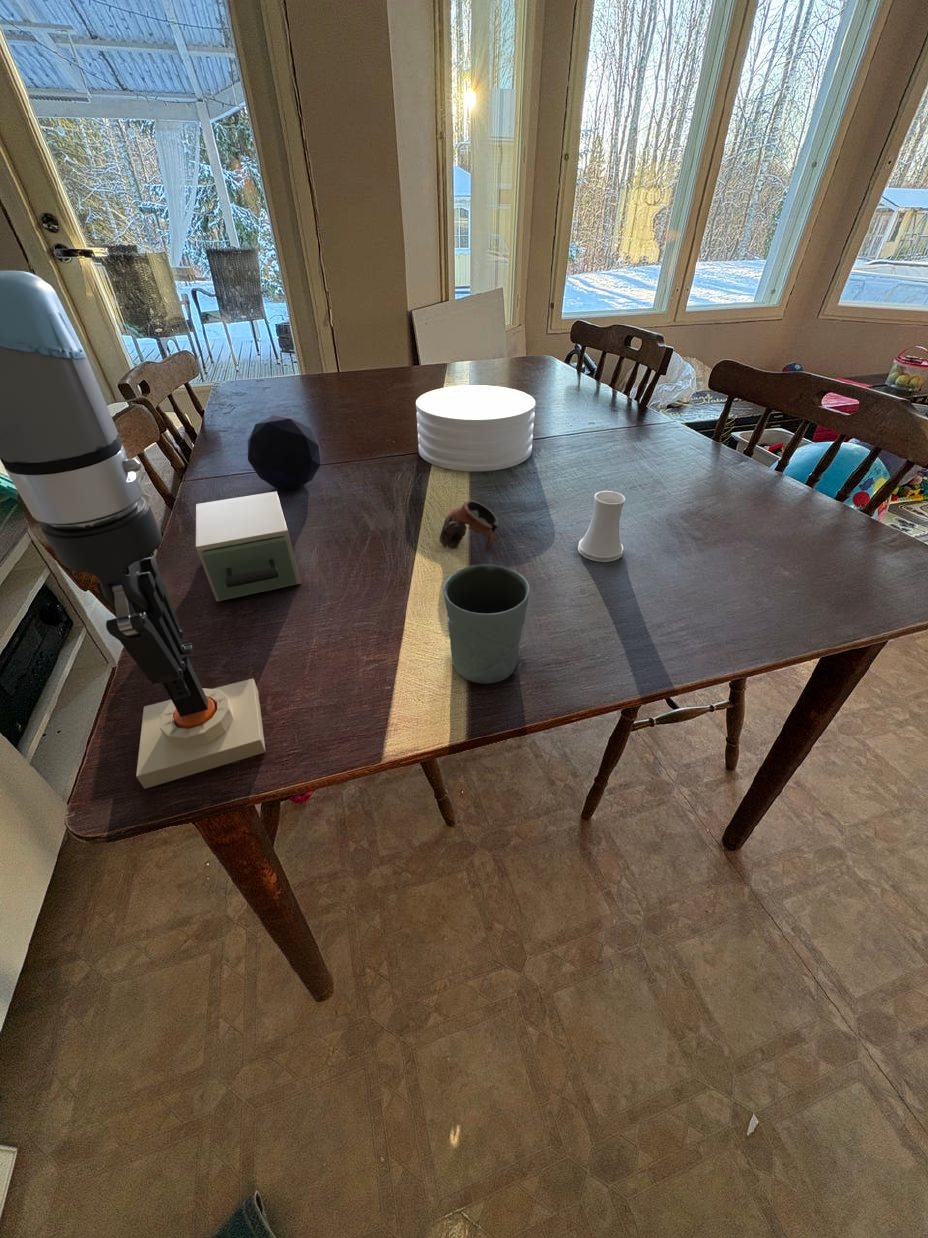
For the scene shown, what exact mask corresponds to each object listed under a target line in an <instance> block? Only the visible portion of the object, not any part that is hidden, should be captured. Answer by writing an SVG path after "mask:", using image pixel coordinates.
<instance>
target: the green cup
mask: <svg viewBox="0 0 928 1238" xmlns="http://www.w3.org/2000/svg"><path fill="white" fill-rule="evenodd" d="M442 593H443V600H444V605H445V610H446V616H447V618H448V621H447V631H448V637H449V640H450V641H449V643H450V644H449V645H450V654H451V662H452V666H453V668H454V669H455V671H456V673H457V674H458V675H459V676H461V677H462V678H464V679H465V680H467V681H470V682H472V683H477V684H487V685H489V684H494V683H495V684H496V683H498V682H501V681H503V680H506V679H507V678H509V677H510V676H511V675H512V674H513V673H514V672H515V669H516V667H517V664H518V659H519V654H520V643H521V638H522V637H521V636H522V631H523V627H524V623H525V618H526V612H527V608H528V604H529V598H530V594H531V587H530V584H529V582H528V580H527V579H526V578H525V576H523V575H522V574H521V573H520V572H518V571H516V570H515V569H513V568H510V567H507V566H504V565H499V564H494V563H493V564H490V563H479V564H473V565H468V566H465V567H461V568H460V569H458V570H456V571H455V572H453V573H452V574H451V575H450V576H449V577H448V578H447V579H446V580H445V582H444V584H443V590H442Z"/></svg>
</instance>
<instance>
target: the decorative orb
mask: <svg viewBox="0 0 928 1238" xmlns="http://www.w3.org/2000/svg"><path fill="white" fill-rule="evenodd" d="M247 462H248V463H249V464H250V466H251V467H252V469H253V470H254V472H255V473H256V475H257V476H258V477H259V479H261V481H264V482H265V483H267V484H269V485H270V486H271V487H273V488H274V489H285V490H286V489H287V490H297V489H298V488H300V487H303V486H305V485H306V484H308V483H309V482H311V481H312V480H313V479H314V478H315V476H316V474H317V473H318V472H319V469H320V467H321V465H322V464H321V446H320V444H319V442H318V440H317V438H316V436H315V434H314V432H313V430H312V428H311V427H310V426H308V425H307V424H305V423H303V422H302V421H300V420H299V419H297V418H296V417H292V416H285V415H276V414H272V415H271V416H269V417H267V418H264V419H263V420H261V421H259V422H257V423H255V424H254V426H253V428H252V430H251V433H250V435H249V437H248V439H247Z"/></svg>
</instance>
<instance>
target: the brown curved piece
mask: <svg viewBox="0 0 928 1238" xmlns="http://www.w3.org/2000/svg"><path fill="white" fill-rule="evenodd" d="M474 511H477V513H478V518H479V519H478V518H477V517H476V516H474V515H473V513H472V512H474ZM481 519H483V520H484V521H485V522H486V523H485V522H483V521H482V520H481ZM499 525H500V523H499V520H498V518H497V516H496V515H495V513H493V511H491V510H490V509H489V508H488V507H486V506H485V505H484V504H482V503H480V502H478V501H475V500H465V501H464V502H463V504H462V505H460V506H459V505H458V506H456V507H455V508H452V509H451V511H450V512H448V513H447V515H446V517H445V520H444V522H443V524H442V527H441V531H440V535H439V543H440V544H441V546H442V548H446V547H448V548H449V549H452V550H457V549H458V547H459V545H460V543H461V541H462V539H463V538H464V537H465V535H466V532H467V527H468V529H469V530H471V531H473V532H475V533H477V534H481V535H482V536H484V537H487V541H486V544H485V547H484V548H485V549H486V550H489V549H490V548H492V546H493V544H494V542H495V541H496V537H497V529H498V528H499Z"/></svg>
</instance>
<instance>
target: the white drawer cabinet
mask: <svg viewBox="0 0 928 1238" xmlns="http://www.w3.org/2000/svg"><path fill="white" fill-rule="evenodd" d="M280 501H281V500H280V498H279V495H278V491H277V490H275V491H270V492H263V493H257V494H250V495H245V496H244V495H243V496H238V497H231V498H226V499H219V500H214V501H206V502H201V503H196V504H195V549H196V551H197V554H198V557H199V560H200V562H201V564H202V567H203V569H204V572H205V575H206V578H207V581H208V583H209V586H210V588H211V591H212V592H213V596H214V599H215V601H216V602H222V601H225V600H230V599H235V598H240V597H244V596H249V595H253V594H258V593H262V592H263V593H264V592H268V591H273V590H277V589H282V588H286V587H292V586H296V585H300V584H301V583H302V581H301V578H300V574H299V571H298V565H297V562H296V558H295V553H294V550H293V545H292V542H291V538H290V534H289V530H288V527H287V523H286V520H285V516H284V512H283V509H282V505H281V502H280ZM279 536H280V537H284V536H285V539H286V543H287V546H288V550H289V554H290V558H291V562H292V566H293V570H294V574H295V578H296V582H297V584H293V585H288V586H284V587H279V588H274V589H270V590H265V591H260V592H256V593H251V594H246V595H242V596H237V597H232V598H228V599H223V600H219V598H218V596H217V593H216V591H215V588H214V585H213V583H212V580H211V577H210V575H209V572H208V569H207V567H206V564H205V561H204V559H203V556H202V552H204V551H209V549H214V548H220V547H225V546H231V545H236V544H241V543H247V542H252V541H258V540H263V539H268V538H274V537H279Z"/></svg>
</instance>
